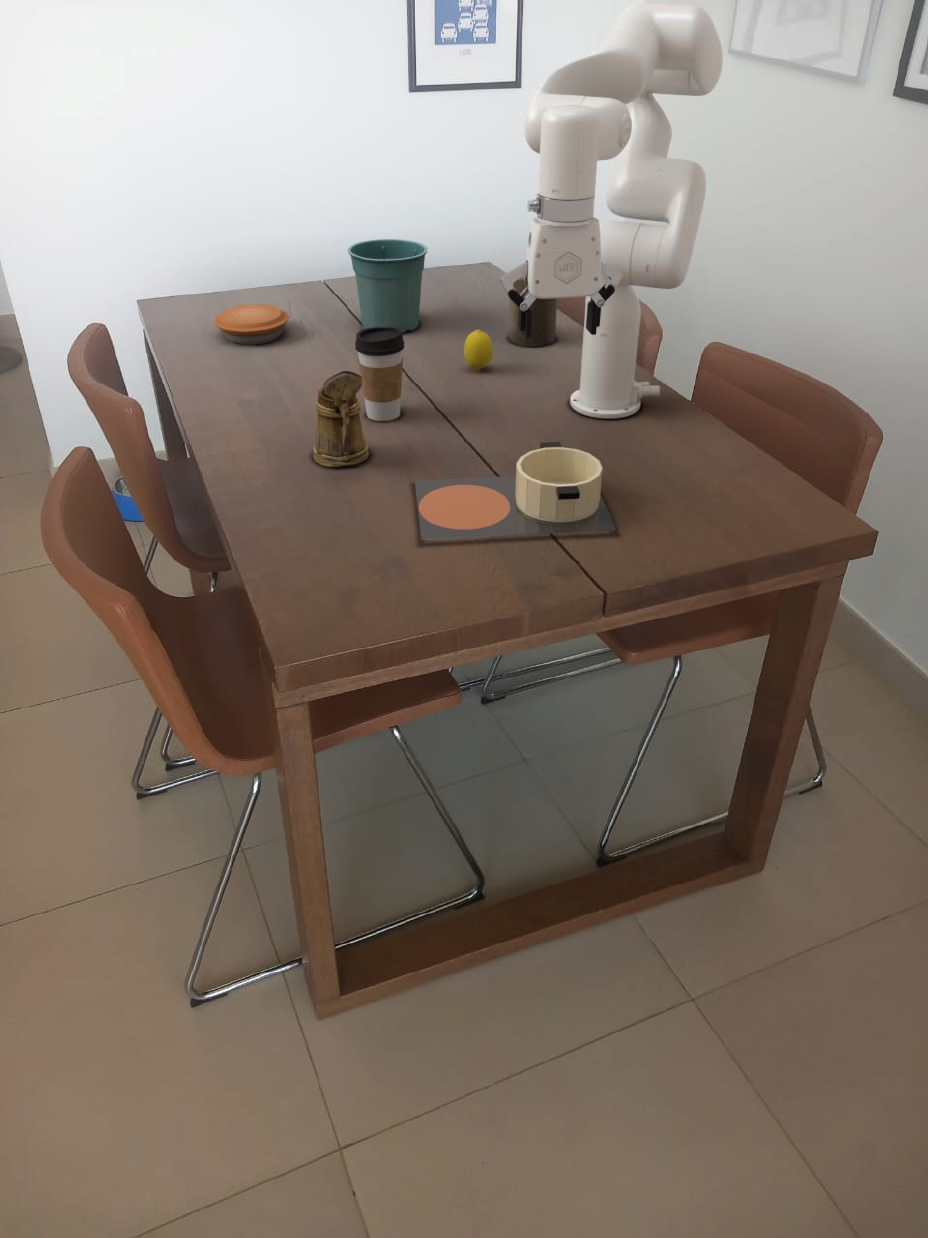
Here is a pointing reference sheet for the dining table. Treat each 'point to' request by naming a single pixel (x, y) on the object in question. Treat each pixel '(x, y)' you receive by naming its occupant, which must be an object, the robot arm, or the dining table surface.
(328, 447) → the wooden mug
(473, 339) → the lemon
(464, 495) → the cooktop
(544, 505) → the pot
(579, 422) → the dining table surface
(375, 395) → the coffee cup
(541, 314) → the pillar candle
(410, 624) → the dining table surface
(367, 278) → the flower pot
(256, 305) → the pie
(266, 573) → the dining table surface
